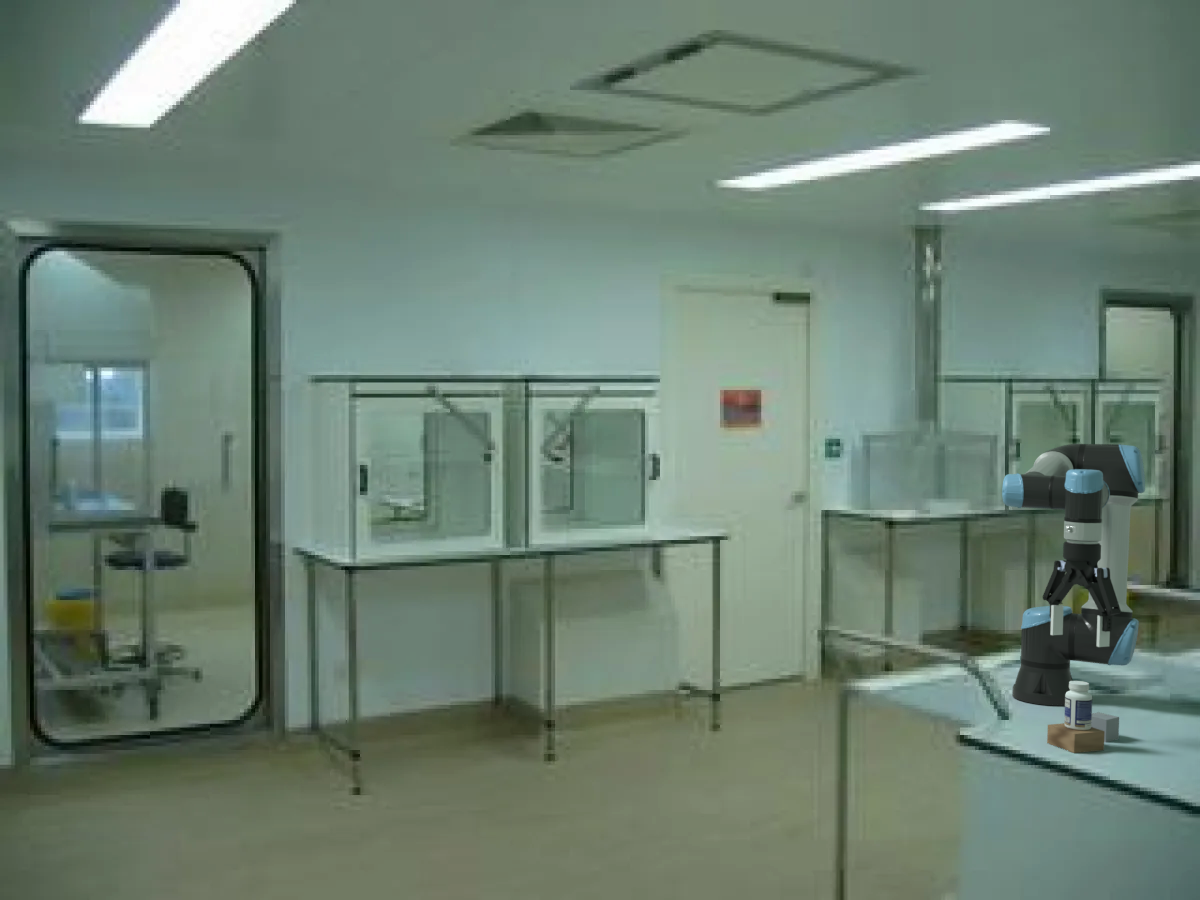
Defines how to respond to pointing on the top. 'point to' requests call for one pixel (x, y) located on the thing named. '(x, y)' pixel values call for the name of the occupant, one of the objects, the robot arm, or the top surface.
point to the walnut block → (1075, 738)
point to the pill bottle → (1078, 706)
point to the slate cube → (1106, 725)
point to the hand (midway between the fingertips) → (1079, 640)
